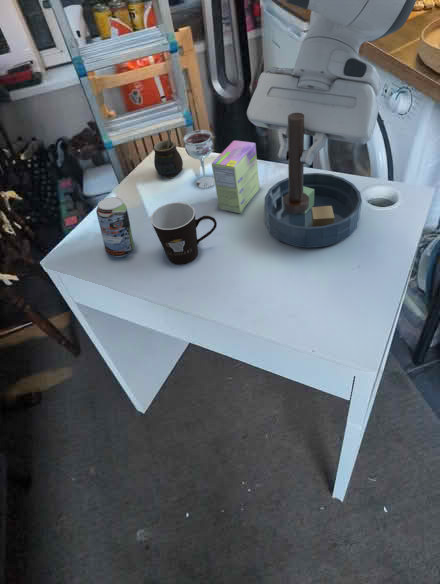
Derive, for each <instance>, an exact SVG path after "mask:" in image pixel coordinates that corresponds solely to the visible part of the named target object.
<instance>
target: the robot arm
mask: <svg viewBox="0 0 440 584" xmlns="http://www.w3.org/2000/svg"><path fill="white" fill-rule="evenodd" d="M285 2H286V3H287V4H290V5H293V6H295V7H297V8H301V9H304V10H309V11H311V13H310V16H309V26H308V30H307V33H306V34H305V36H304V37H303V38H302V41H301V44H300V47H299V51H298V54H297V57H296V60H295V64H294V67H293V68H291V67H278V66H270V68H268V69H265V70H264V71H263V72H261V73H260V75H259V76H258V80H257V84H256V88H255V90H254V92H253V94H252V97H251V98H250V101H249V104H248V107H247V110H246V117H247V119H248V121H250V123H251V124H253V125H254V126H256V127H259V128H265V129H271V130H277V135H278V141H279V145H280V147H279V150H278V153H277V157H278V159H279V160H284V161H288V116H289V115H290V114H292V113H302V114H304V136H311V137H313V140H314V141H315V142H314V143H313V144H312V145H311V146H310V147H309V148H308V149H307V150H306V149H304V150H303V151H302V156H301V157H300V162H301V163H303V164H304V165H307V166H312V164H313V162H314V158H315V156H316V155H317V154H318V153H319V152H321V150H322V149H323V148H324V147H326V145H327V142H328V139H329V140H334V141H338V142H339V141H340V142H346V143H351V144H357V145H358V144H359V145H366V144H367V143H368V142H369V141H371V140H372V138H373V136H374V132H375V128H376V125H377V122H378V121H377V120H378V114H379V110H380V109H379V102H378V99H377V97H378V96H379V94H380V92H381V89H382V86H381V85H382V84H381V83H382V82H381V78H380V75H379V73H378V71H377V69H376V67H375V66H374V65H373V64H371V63H370V62H367V61H365V60H363V59H361V58H359V52H360V49H361V46H362V45H363V43H366V42H367V43H373V42H376V41H377V40H380V39H383V38H385V37H387V36H390V35H392V34H394V33H395V32H398V30H400V29H401V28H402V27H403V26H404V25H405V24H406V22H407V21H408V20H409V18H410V16H411V14H412V11H413V10H414V7H415V4H416V2H417V0H285Z"/></svg>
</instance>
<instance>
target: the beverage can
mask: <svg viewBox="0 0 440 584" xmlns="http://www.w3.org/2000/svg"><path fill="white" fill-rule="evenodd" d="M95 211H96V216H97V220H98V224H99V225H98V226H99V228H100V234H101V237H102V243H103V246H104V249H105V253H106V254H107V255H108V256H111V257H114V258H115V257H116V258H121V257H122V258H123V257H125V256H127V255H129V254H131V252H133V250H134V248H135V243H134V238H133V232H132V228H131V222H130V218H129V212H128V207H127V205H126V204H125V202H124V200H123V199H122V198H120V197H116V196H115V197H113V196H111V197H106V198H102V199H101V200H100V201H98V203H97V207H96V210H95Z"/></svg>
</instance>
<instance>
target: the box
mask: <svg viewBox="0 0 440 584" xmlns="http://www.w3.org/2000/svg"><path fill="white" fill-rule="evenodd" d="M258 167H259V166H258V157H257V145H256V142H250V141H242V140H232V142H230V144H229V145H228V146H226V148H225V149H224V150H223V151H222V152H221V153H220V154H219V155H218V156H217V157H216V159H214V160H213V162H211V169H212V176H213V178H214V181H215V184H214V186H215V191H216V197H217V203H218V209H219V210H222V211H226V212H231V213H236V214H242V212H243V211H244V209H245V208H246V207H247V205H248V204H249V203H250V202H251V201H252V199H253V198H254V197H255V196H256V194H257V192H258V191H259V190H260V178H259V168H258Z"/></svg>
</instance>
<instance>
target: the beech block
mask: <svg viewBox="0 0 440 584" xmlns="http://www.w3.org/2000/svg"><path fill="white" fill-rule="evenodd" d="M333 223H334V214H333V209H332V206H321V207H312V210H311V225H312V227H317V226H325V225H329V224H333Z"/></svg>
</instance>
